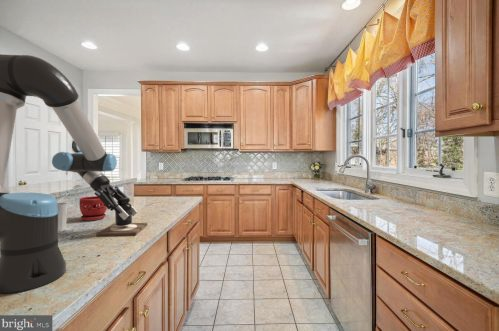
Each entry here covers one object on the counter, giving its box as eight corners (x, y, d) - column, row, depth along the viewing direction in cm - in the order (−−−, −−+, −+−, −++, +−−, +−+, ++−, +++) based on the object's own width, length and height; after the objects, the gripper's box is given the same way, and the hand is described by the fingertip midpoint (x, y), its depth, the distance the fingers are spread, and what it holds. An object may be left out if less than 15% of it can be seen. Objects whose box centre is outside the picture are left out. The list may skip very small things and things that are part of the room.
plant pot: (103, 221, 127) (103, 198, 126) (75, 222, 123) (75, 199, 123) (111, 215, 139) (110, 195, 139) (85, 216, 136) (85, 195, 136)
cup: (55, 232, 106) (55, 206, 106) (41, 231, 108) (41, 205, 107) (72, 227, 114) (72, 202, 114) (58, 226, 115) (58, 202, 115)
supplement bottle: (129, 221, 115) (129, 196, 115) (134, 224, 110) (134, 198, 110) (113, 224, 110) (113, 198, 110) (117, 227, 105) (117, 200, 105)
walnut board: (135, 235, 103) (135, 232, 103) (96, 236, 101) (96, 233, 101) (147, 225, 119) (147, 222, 119) (113, 226, 117) (113, 223, 117)
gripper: (105, 183, 120) (137, 216, 120) (74, 188, 101) (112, 227, 100) (115, 173, 120) (147, 206, 119) (86, 176, 100) (124, 215, 100)
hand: (131, 215), depth 110 cm, fingers closed on supplement bottle, 7 cm apart
